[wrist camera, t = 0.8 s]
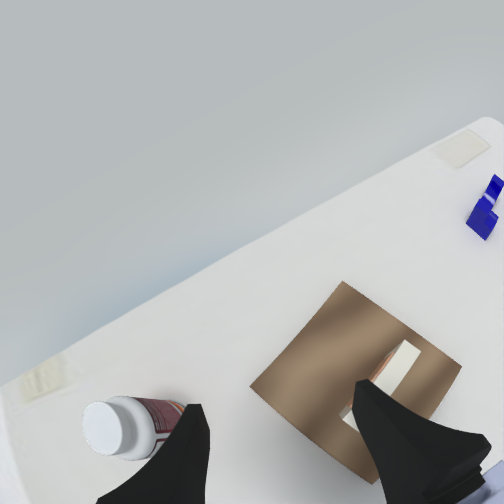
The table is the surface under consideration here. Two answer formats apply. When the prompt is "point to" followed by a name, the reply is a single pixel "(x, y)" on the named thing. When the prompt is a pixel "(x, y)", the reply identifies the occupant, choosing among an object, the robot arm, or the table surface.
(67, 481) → the table surface
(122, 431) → the pill bottle
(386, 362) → the tile
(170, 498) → the robot arm
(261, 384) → the board
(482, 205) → the cable holder
